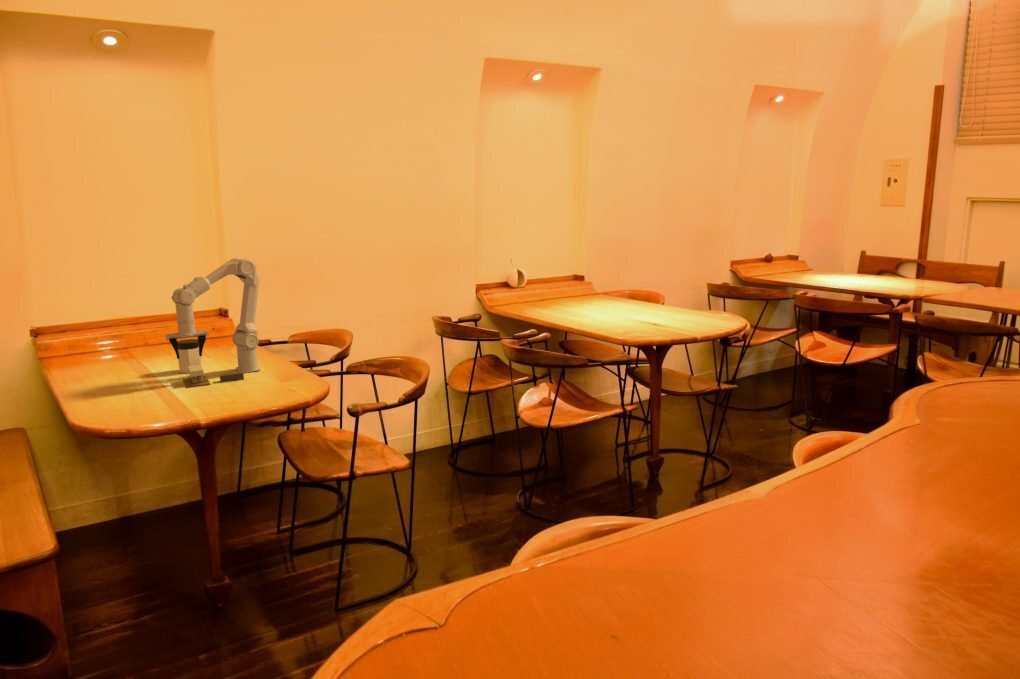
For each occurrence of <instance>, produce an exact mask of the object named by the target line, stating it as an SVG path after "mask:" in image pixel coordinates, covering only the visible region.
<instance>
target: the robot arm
mask: <svg viewBox="0 0 1020 679" xmlns="http://www.w3.org/2000/svg"><path fill="white" fill-rule="evenodd" d="M257 272H258V271H257V265H256V264H255V263H254V262H253V261H252V260H250V259H249V258H248V259H247V258H238V257H237V258H236V257H234V258H231V259H229V260H228V261H225V262H224V263H223V264H222V265H220V266H219V267H218V268H216V269H215V270H213V271H212V272H210V273H209V274H207V275H206V276H204V277H203V276H195V277H194V278H193V280H192V281H190V282H189V283H187V284H183V286H182V288H179V287H178V288H176V289H175V290H174V291H173V293H172V296H171V300H172V301H173V303H175V313H176V320H177V332H174V333H166V334H165V340H166V341H169V343H170V344H171V346H172V349H173V350H174V352H175V355H176V360H178V359H180V358H179V352H178V340H183V339H189V338H191V339H193V338H197V340H198V344H199V356H201V357H202V356H203V349H204V346H205V342H206V340H207V337H209V334H210V333H209V330H196V327H195V326H196V324H195V317H194V316H195V315H194V306H193V303H194V302H195V300H196V298H198V297H200V296H201V295H203V294H205V293H206V292H208V291H210V289H211V285H212V284H215V283H216V282H218V281H220V280H221V279H224V278H225V277H227V276H232V275H233V276H236V277H237V278H238V279H239V280H240V281H241V282H242V283H243V292H242V299H241V310H240V316H239V317H240V318H239V323H238V324H237V326H236V327H235V331H234V333H233V335H232V342H233V344H234V345H235V346H236V356H237V357H236V358H237V367H235V369H236V372H243V374H244V373H252V372H260V371H261V369H260V368H259V366H258V354H257V353H258V352H257V346H258V345H259V335H258V329H257V327H256V325H255V322H256V312H257V303H258V302H257V301H258V295H259V284H260V279H259V275H258V273H257Z"/></svg>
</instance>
